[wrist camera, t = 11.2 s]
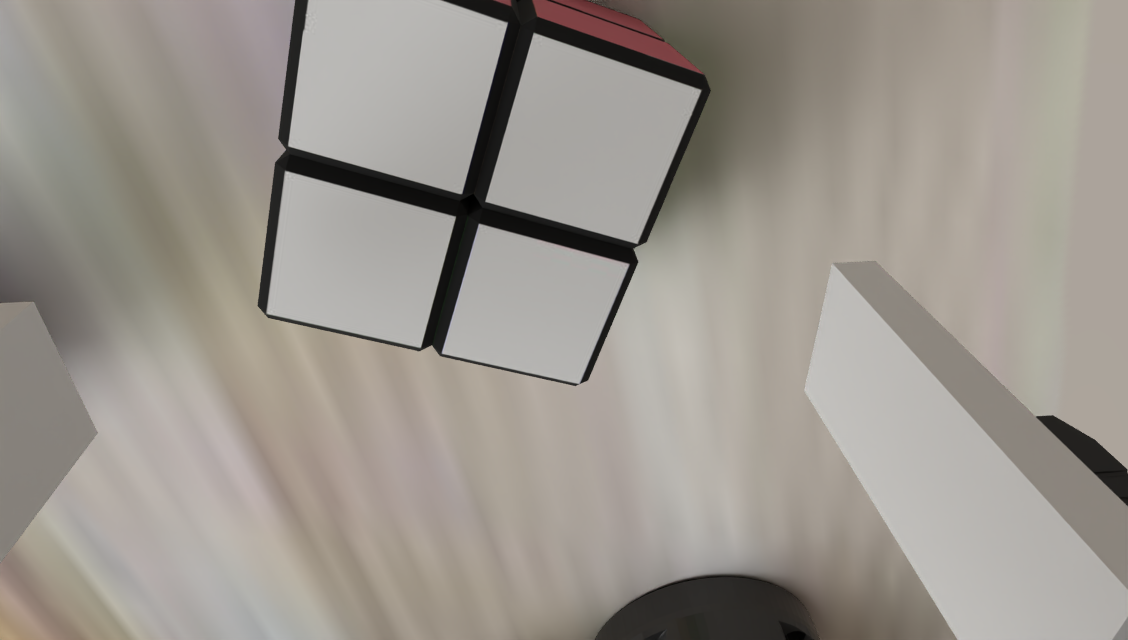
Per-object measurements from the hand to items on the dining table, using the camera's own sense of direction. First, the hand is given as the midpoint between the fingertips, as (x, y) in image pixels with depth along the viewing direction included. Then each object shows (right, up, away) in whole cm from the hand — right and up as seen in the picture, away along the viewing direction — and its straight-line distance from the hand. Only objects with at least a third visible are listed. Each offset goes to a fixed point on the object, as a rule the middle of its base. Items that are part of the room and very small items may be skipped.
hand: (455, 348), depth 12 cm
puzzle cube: (-1, +9, +15) cm, 17 cm away
